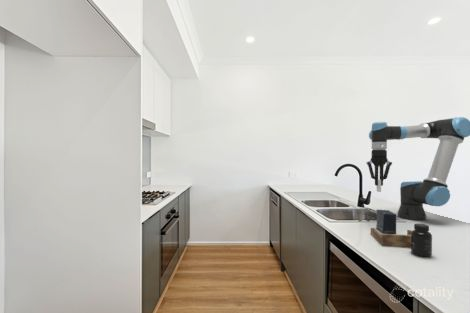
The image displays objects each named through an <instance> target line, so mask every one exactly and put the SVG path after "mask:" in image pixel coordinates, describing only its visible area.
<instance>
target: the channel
mask: <svg viewBox="0 0 470 313" xmlns="http://www.w3.org/2000/svg"><path fill="white" fill-rule="evenodd" d="M412 231H413V230H410V229H407V230H406V233H407V234H397V233H396V234H382V233H381V232H380V231H378V230H377V229H376V228H374V227H370V235H371V236H372V238H374V239H375V240H376V241H377V243H379V244H380V245H381V246H382V247H390V248H391V247H394V248H395V247H396V248H406V247H407V248H409V249H411V232H412Z"/></svg>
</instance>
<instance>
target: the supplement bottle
mask: <svg viewBox="0 0 470 313" xmlns="http://www.w3.org/2000/svg"><path fill="white" fill-rule="evenodd" d="M413 224H414V225H413V230H411V231H412V232H411V248H410V253H411V254H412V255H414V256H416V257H419V258H425V257H426V258H427V257H428V258H431V257H432V255H433V234H432V233H431V232H429V231H430V226H429V225H428V224H425V223H413ZM426 258H425V259H426Z"/></svg>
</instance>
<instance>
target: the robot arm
mask: <svg viewBox="0 0 470 313" xmlns="http://www.w3.org/2000/svg"><path fill="white" fill-rule="evenodd" d="M469 136H470V120H469V119H468V118H467V117H464V116H459V117H451V118H445V119H438V120H433V121H430V122H422V123H420V124H418V125H407V126H405V125H404V126H401V125H399V126H398V125H397V126H395V125H391V126H390V125H388V123H387V122H386V121H378V122H377V121H376V122H373V123H372V124H371V130H370V131H369V133H368V138H369V139H370V141H371V158H370V160H369V161H366V165H367V167H368V170H369V174H370V179H372V180H374V185H375V186H376V192H377V193H379V192H380V193H381V192H382V186H383V185H384V180H386V179H387V178H388V175H389V172H390V169H391V166H392V164H393V162H392V161H389V159H388V157H387V156H388V150H387V149H388V145H387V144H388V141H392V140H394V141H395V140H398V141H400V140H405V139H414V138H420V139H437V140H439V144H438V146H437V149H436V152H435V155H434V158H433V161H432V164H431V165H430V166H431V167H430V170H429V173H428V175H427V178H425V179H422V180H423V181H421V180H420V181H418V180H417V181H402V182H401V183H400V188H399V190H400V191H399V193H400V195H399V196H400V204H399V208H398V210H397V213H396V217H398V218H401V219H403V220H404V219H405V220H411V221H425V220H427V214H426V211H425V209H424V205H426V206H427V205H428V206H431V207H442V206H444V205H446V204H447V203H448V202H449V201H450V198H451V192H450V190H449V188H448V184H447V183H446V182H447V179H448V176H449V173H450V170H451V167H452V165H453V161H454V158H455V156H456V153H457V150H458V148H459V145H460V144H462V143H464V140H465V138H468V137H469ZM372 165H373V166H374V170H373V166H372ZM384 167H385V169H384ZM423 204H424V205H423Z"/></svg>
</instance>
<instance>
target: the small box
mask: <svg viewBox="0 0 470 313" xmlns="http://www.w3.org/2000/svg"><path fill="white" fill-rule="evenodd" d="M375 230H377V231H378V232H379V233H380V234H397V213H394V212H392V211H391V210H387V209H376V228H375Z"/></svg>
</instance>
